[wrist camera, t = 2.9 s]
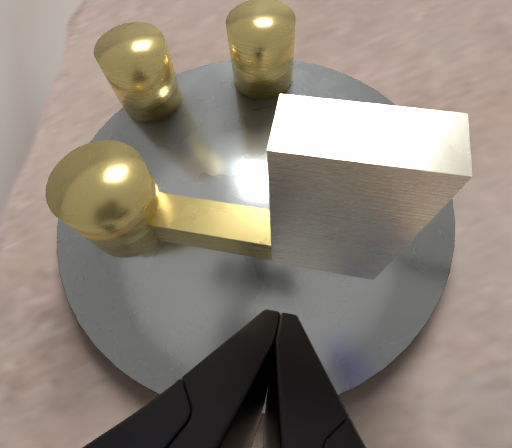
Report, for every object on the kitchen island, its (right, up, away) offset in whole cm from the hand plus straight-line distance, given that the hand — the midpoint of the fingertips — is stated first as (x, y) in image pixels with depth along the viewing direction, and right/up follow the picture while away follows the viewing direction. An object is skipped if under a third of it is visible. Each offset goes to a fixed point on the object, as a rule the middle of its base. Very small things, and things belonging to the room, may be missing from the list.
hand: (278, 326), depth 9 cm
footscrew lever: (-2, +2, +9) cm, 9 cm away
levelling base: (-1, +4, +11) cm, 12 cm away
